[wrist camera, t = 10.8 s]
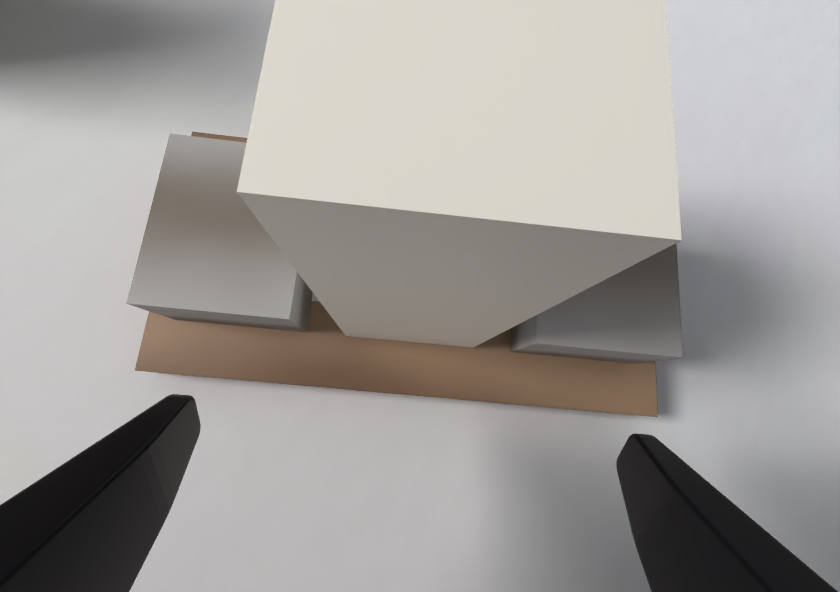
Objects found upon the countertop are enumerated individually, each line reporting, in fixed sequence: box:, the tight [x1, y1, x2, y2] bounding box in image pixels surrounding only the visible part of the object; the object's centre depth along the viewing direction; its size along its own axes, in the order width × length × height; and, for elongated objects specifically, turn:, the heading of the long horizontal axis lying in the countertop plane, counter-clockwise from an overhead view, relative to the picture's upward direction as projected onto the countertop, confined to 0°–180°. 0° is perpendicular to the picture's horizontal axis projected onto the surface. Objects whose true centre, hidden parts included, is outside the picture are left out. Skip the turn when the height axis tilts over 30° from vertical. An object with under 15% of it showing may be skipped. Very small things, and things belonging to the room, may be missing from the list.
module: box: [237, 0, 682, 348], centre depth 11 cm, size 6×5×12 cm
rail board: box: [127, 132, 683, 417], centre depth 16 cm, size 10×20×4 cm, turn 85°
